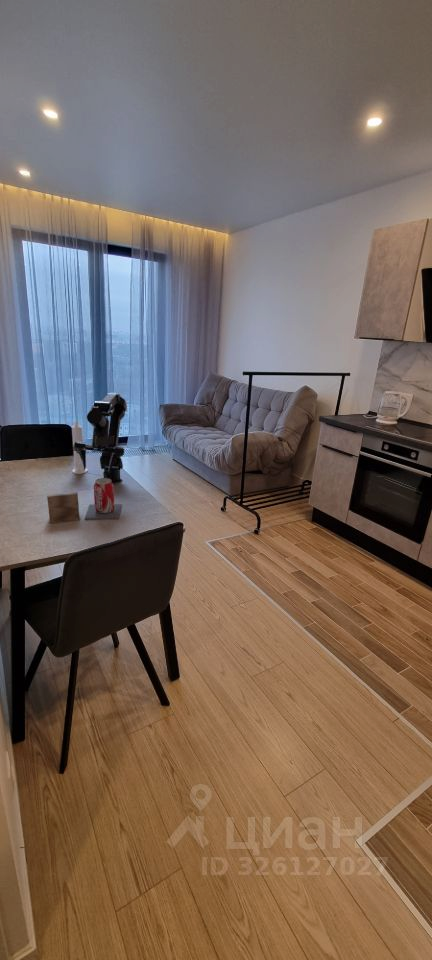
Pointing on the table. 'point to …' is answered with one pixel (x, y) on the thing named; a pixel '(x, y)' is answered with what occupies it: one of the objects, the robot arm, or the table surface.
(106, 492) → the soda can
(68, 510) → the walnut screen
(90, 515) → the charcoal mat
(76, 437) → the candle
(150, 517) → the table surface
